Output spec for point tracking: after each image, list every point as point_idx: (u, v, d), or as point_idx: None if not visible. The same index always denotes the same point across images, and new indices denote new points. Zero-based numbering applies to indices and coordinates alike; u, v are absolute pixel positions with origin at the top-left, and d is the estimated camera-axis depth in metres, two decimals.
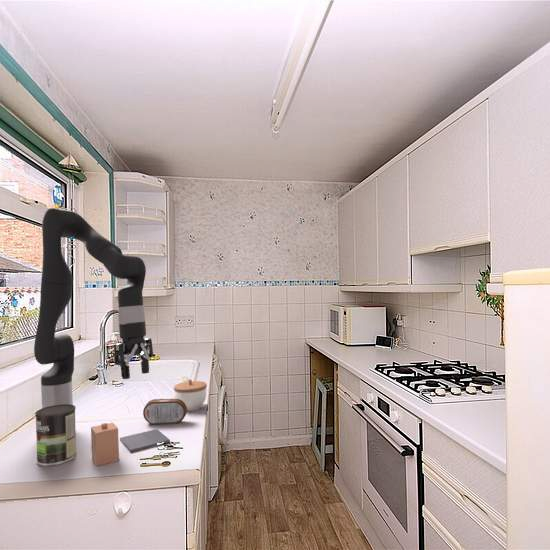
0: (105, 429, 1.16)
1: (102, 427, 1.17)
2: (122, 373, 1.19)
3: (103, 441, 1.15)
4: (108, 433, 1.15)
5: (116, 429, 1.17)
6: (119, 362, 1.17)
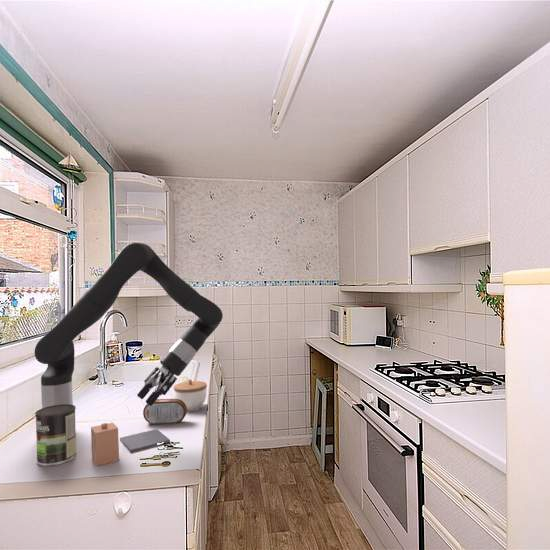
0: (105, 429, 1.16)
1: (102, 427, 1.17)
2: (152, 399, 1.20)
3: (103, 441, 1.15)
4: (108, 433, 1.15)
5: (116, 429, 1.17)
6: (164, 392, 1.21)
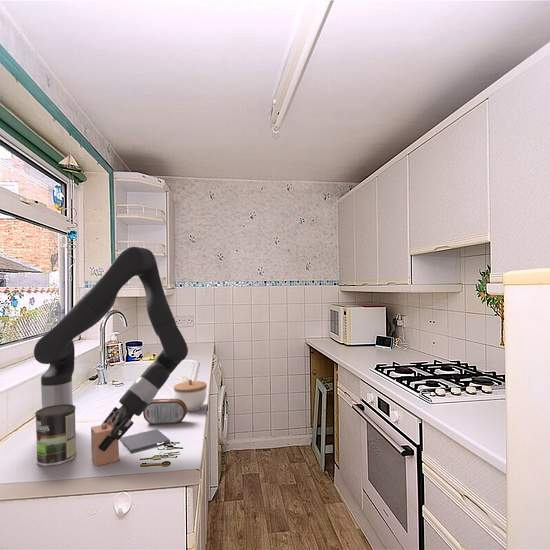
0: (105, 429, 1.16)
1: (102, 427, 1.17)
2: (105, 444, 1.14)
3: None
4: (108, 433, 1.15)
5: None
6: (117, 437, 1.14)
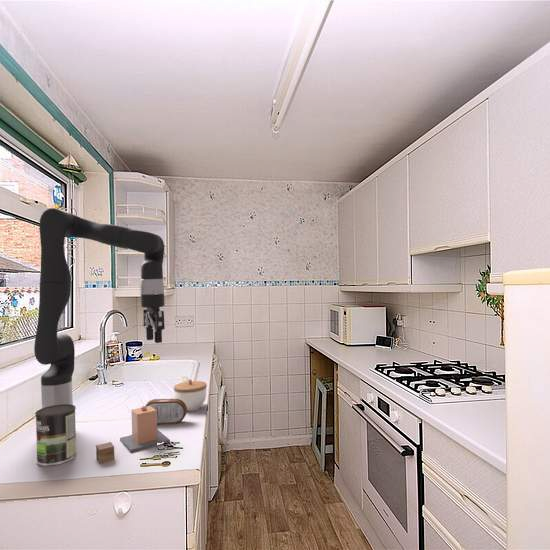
0: (145, 411, 1.29)
1: (142, 409, 1.29)
2: (158, 337, 1.34)
3: (143, 422, 1.27)
4: (148, 414, 1.28)
5: (155, 411, 1.29)
6: (162, 327, 1.33)
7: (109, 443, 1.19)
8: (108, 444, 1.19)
